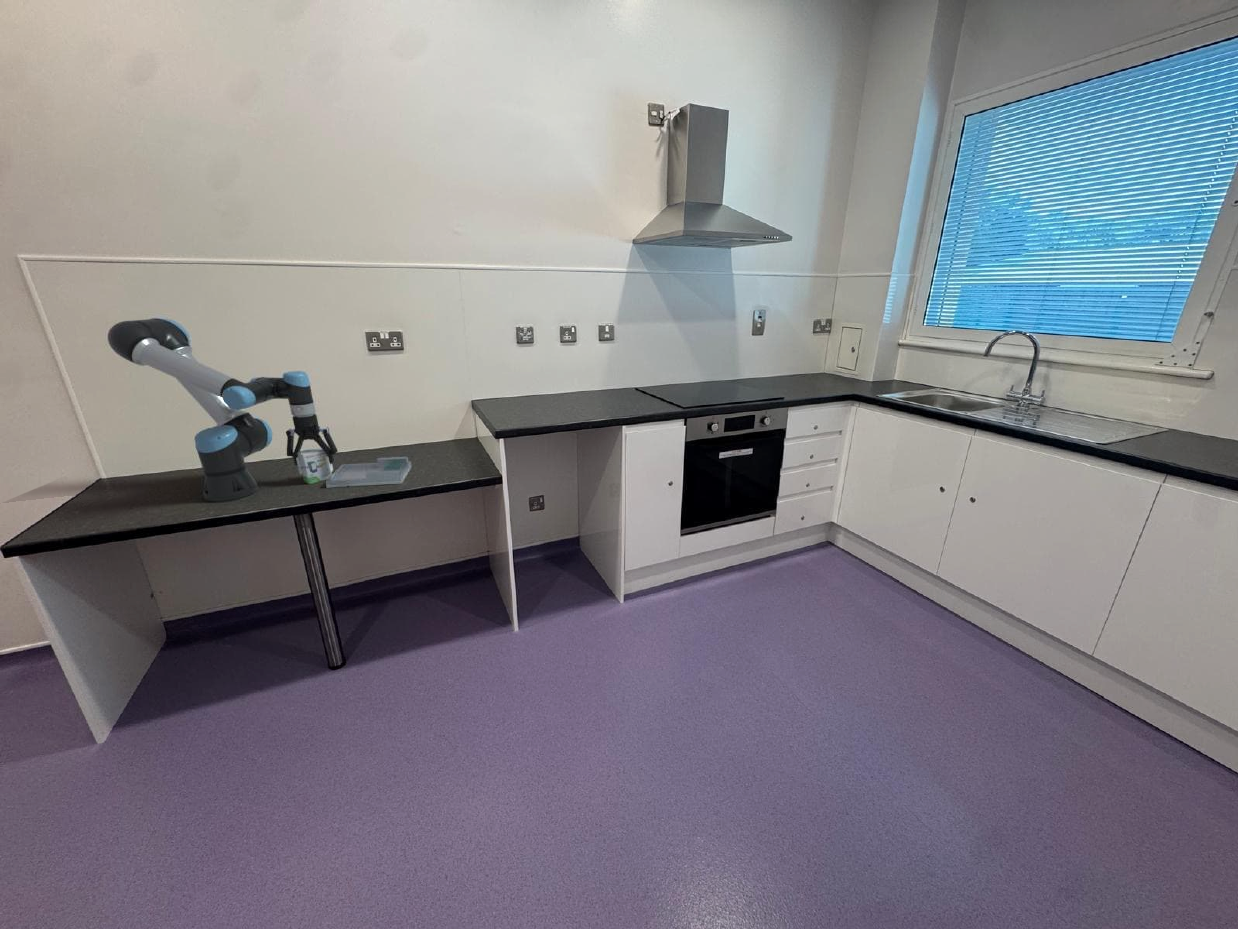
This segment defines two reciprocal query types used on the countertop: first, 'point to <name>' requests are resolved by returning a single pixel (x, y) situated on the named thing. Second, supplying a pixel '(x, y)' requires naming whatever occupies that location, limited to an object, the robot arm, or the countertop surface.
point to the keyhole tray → (371, 473)
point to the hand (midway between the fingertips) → (316, 472)
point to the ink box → (313, 465)
